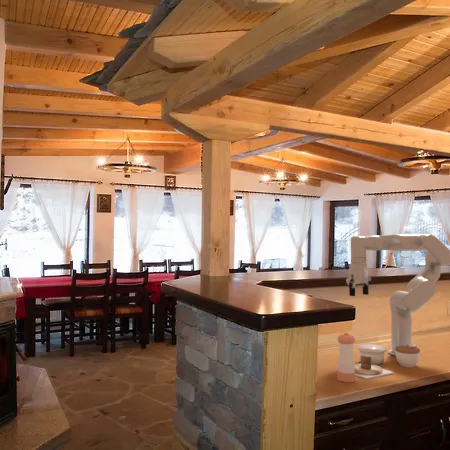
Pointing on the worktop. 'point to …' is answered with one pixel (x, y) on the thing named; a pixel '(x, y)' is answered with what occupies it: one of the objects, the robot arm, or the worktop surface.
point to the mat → (385, 372)
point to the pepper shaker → (346, 358)
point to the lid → (367, 367)
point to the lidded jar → (407, 355)
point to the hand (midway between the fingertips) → (359, 295)
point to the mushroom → (373, 352)
